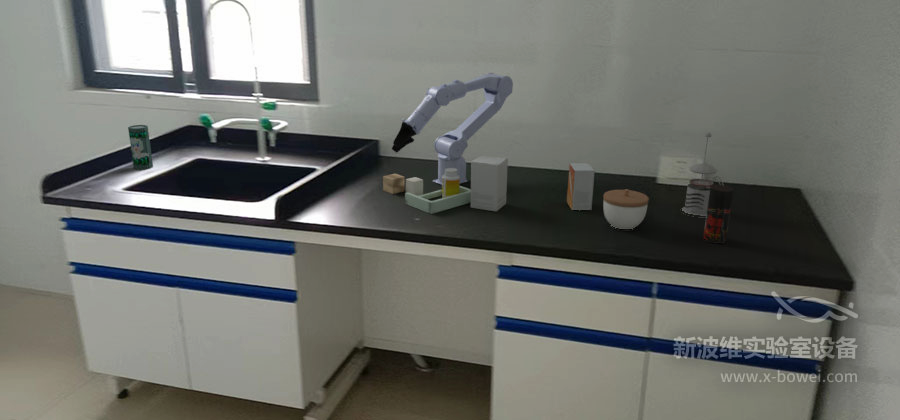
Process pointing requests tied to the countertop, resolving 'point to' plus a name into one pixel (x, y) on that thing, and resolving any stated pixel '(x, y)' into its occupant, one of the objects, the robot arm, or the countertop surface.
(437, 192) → the tray
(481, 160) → the supplement box
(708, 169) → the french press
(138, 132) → the can
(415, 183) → the cream box
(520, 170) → the countertop surface
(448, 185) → the supplement bottle
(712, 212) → the deodorant
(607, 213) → the lidded bowl
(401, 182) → the oak block
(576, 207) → the small box
